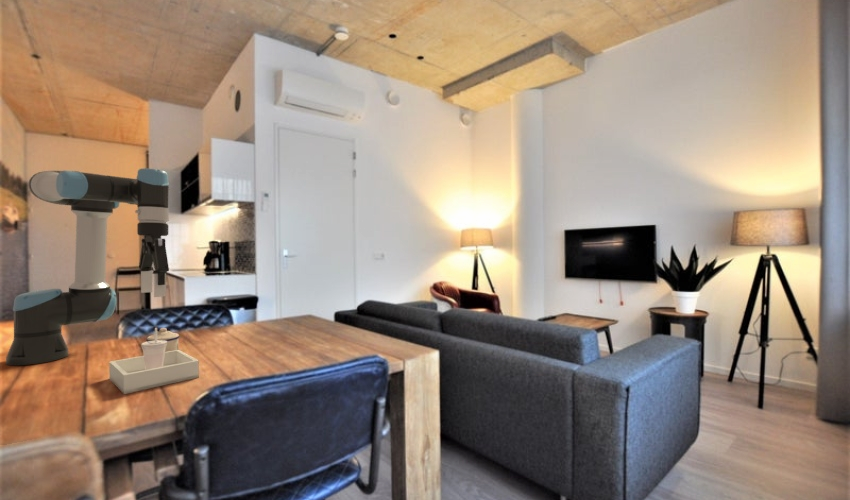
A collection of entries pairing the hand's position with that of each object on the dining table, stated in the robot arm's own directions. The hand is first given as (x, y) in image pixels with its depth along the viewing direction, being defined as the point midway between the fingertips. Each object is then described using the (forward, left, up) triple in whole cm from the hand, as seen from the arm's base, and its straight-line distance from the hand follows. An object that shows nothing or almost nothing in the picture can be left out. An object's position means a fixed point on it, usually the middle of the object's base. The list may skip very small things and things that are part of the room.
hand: (153, 294), depth 116 cm
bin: (0, 0, -25) cm, 25 cm away
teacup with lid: (-16, +6, -25) cm, 30 cm away
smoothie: (0, 0, -24) cm, 24 cm away
